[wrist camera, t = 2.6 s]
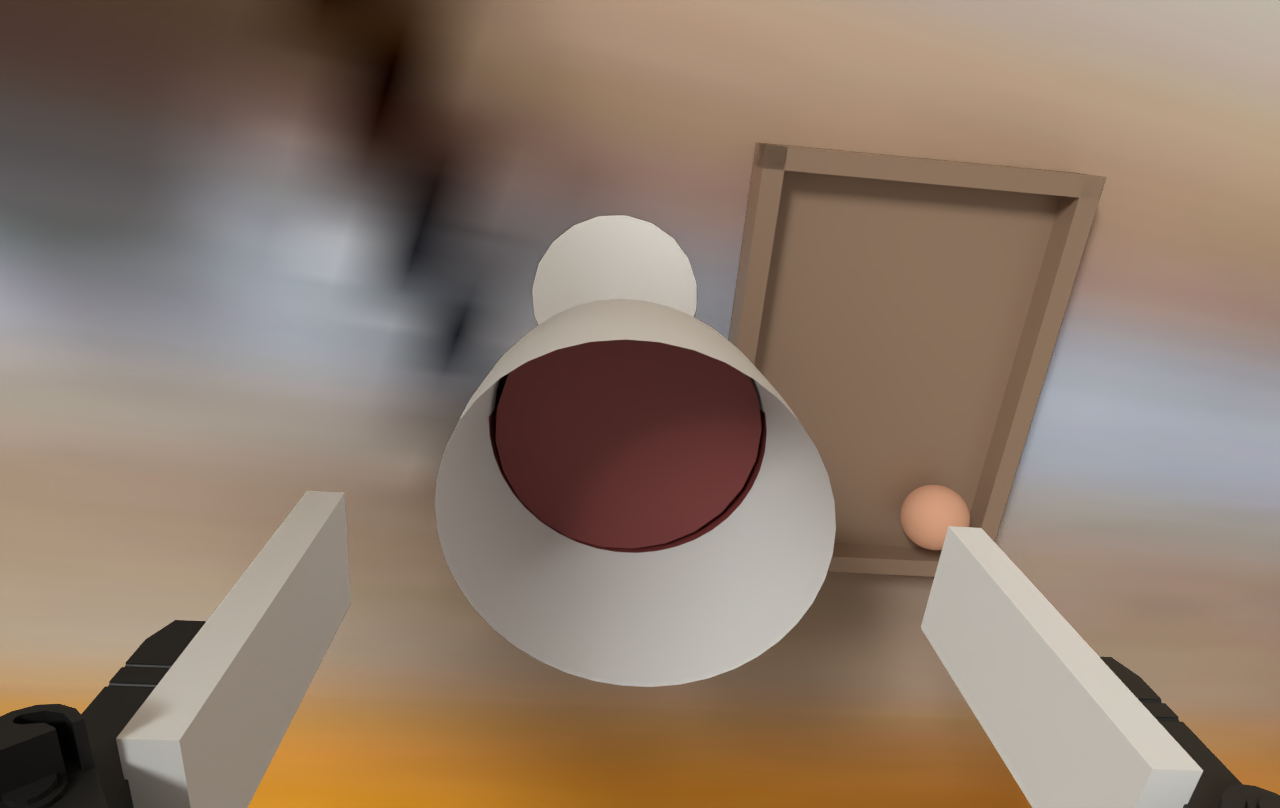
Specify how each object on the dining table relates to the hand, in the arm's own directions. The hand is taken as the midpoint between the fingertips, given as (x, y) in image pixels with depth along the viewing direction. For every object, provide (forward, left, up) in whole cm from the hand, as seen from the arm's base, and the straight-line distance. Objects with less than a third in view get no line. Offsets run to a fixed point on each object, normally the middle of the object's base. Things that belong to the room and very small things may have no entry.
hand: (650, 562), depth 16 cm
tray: (+3, +14, -23) cm, 27 cm away
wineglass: (0, 0, -23) cm, 23 cm away
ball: (+10, +18, -22) cm, 30 cm away
